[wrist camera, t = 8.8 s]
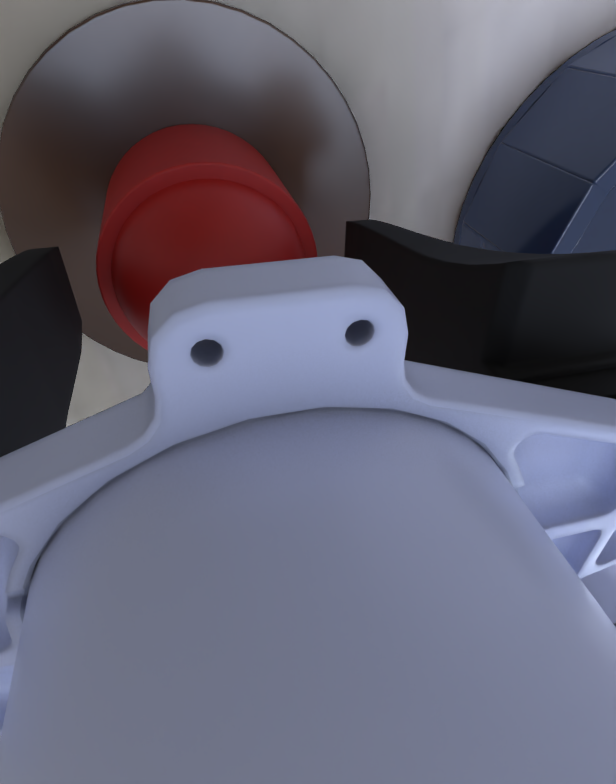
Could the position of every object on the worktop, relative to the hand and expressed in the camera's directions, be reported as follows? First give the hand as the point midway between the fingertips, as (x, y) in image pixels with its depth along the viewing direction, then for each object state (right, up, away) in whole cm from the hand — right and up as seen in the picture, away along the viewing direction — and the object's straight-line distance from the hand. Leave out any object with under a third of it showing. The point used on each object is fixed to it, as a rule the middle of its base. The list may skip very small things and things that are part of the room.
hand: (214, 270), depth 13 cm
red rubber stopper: (-1, +2, +2) cm, 3 cm away
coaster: (-1, +2, +3) cm, 4 cm away
